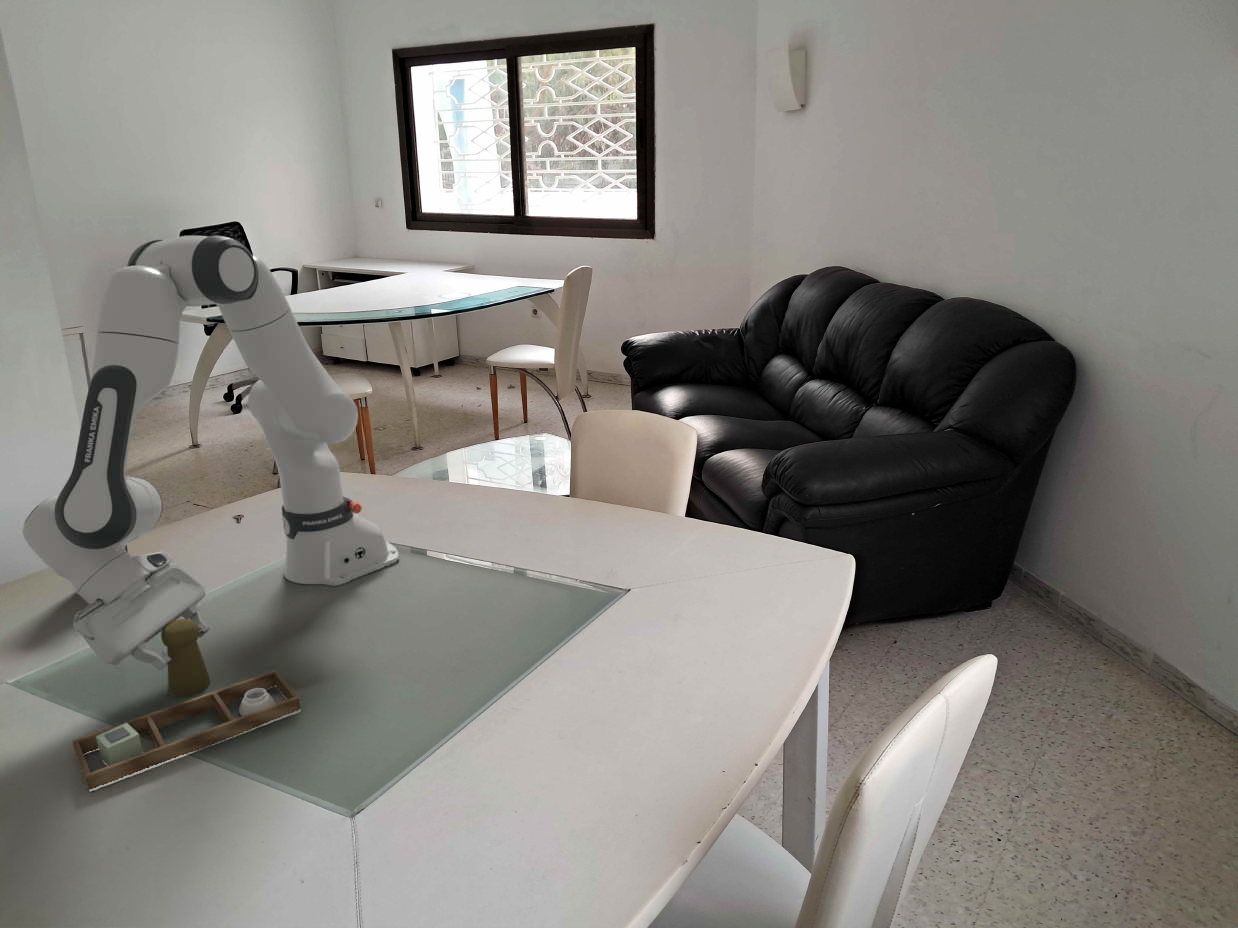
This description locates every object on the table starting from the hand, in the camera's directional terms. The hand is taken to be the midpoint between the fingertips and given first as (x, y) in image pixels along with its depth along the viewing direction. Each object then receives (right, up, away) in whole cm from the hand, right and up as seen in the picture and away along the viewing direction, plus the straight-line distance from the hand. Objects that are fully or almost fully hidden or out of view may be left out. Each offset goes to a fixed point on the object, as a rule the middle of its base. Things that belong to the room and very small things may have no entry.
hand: (186, 648), depth 135 cm
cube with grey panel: (-2, -12, -14) cm, 19 cm away
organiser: (+5, -10, -9) cm, 15 cm away
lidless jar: (+12, -9, -3) cm, 16 cm away
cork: (-1, -6, +2) cm, 7 cm away
